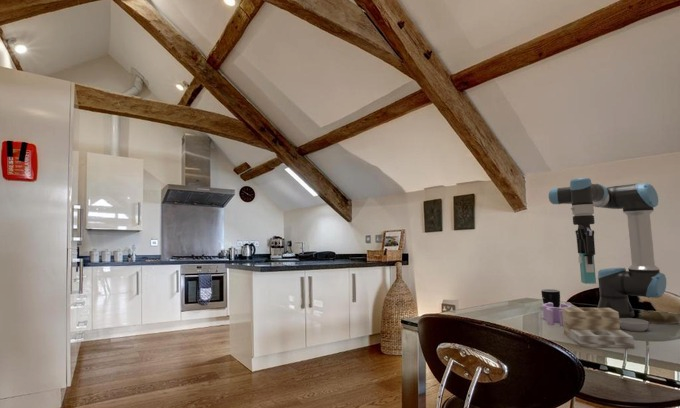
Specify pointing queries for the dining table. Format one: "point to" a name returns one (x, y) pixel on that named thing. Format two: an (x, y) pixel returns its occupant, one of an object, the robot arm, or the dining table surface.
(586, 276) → the plug
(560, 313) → the clip
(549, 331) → the dining table surface
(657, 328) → the dining table surface
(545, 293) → the mug
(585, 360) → the dining table surface
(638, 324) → the saucepan
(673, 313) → the dining table surface
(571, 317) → the socket block
